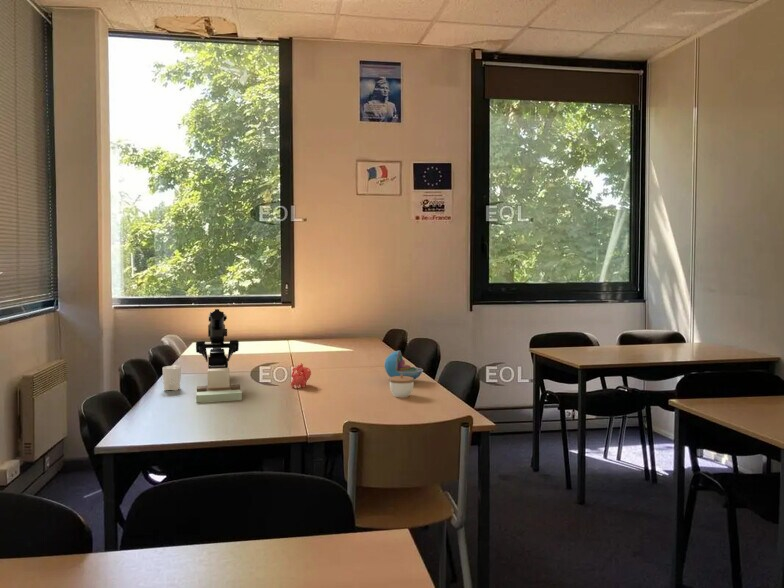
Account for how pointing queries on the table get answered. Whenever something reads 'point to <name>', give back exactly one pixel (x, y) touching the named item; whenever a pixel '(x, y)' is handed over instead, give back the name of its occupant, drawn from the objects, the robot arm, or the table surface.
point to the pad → (218, 396)
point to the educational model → (400, 366)
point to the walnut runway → (205, 388)
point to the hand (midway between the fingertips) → (217, 361)
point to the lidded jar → (401, 385)
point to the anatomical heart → (299, 378)
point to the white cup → (171, 377)
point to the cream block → (218, 377)
